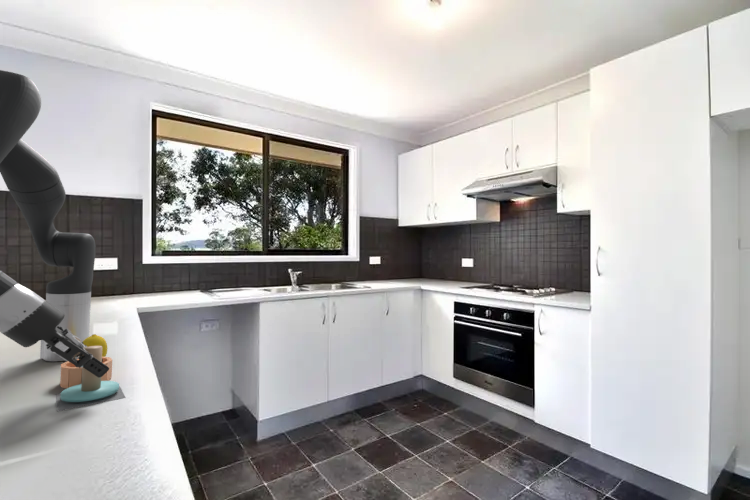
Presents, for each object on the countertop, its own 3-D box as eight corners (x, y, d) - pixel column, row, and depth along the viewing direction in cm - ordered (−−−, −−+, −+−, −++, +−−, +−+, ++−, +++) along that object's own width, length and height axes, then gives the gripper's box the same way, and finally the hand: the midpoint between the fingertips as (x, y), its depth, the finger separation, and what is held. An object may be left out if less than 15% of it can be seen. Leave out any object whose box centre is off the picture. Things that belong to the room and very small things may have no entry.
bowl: (59, 381, 78) (60, 360, 79) (108, 373, 84) (109, 354, 84) (60, 393, 72) (61, 370, 72) (113, 384, 78) (114, 363, 78)
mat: (55, 396, 71) (55, 394, 71) (117, 385, 77) (117, 383, 77) (57, 413, 63) (57, 411, 63) (125, 399, 70) (125, 397, 70)
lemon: (91, 371, 86) (92, 337, 86) (72, 369, 87) (73, 335, 87) (112, 364, 91) (113, 332, 91) (94, 362, 92) (95, 331, 93)
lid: (59, 394, 71) (61, 346, 71) (115, 384, 77) (117, 340, 77) (60, 409, 64) (63, 356, 64) (122, 397, 70) (124, 348, 70)
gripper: (45, 303, 60) (126, 360, 68) (41, 295, 71) (112, 346, 79) (-3, 339, 57) (89, 396, 65) (1, 325, 67) (79, 375, 75)
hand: (101, 368), depth 72 cm, fingers open, 7 cm apart
